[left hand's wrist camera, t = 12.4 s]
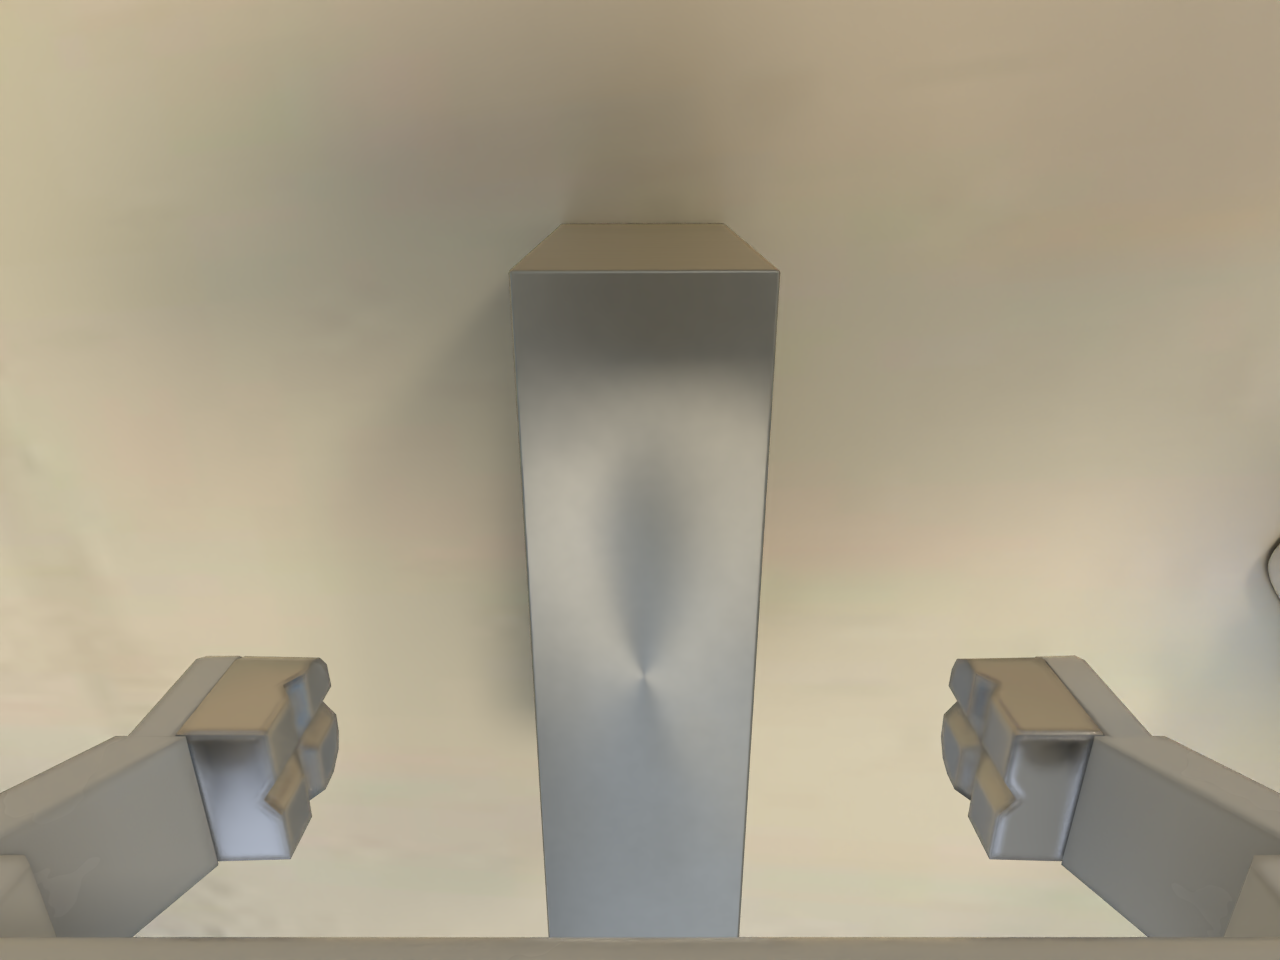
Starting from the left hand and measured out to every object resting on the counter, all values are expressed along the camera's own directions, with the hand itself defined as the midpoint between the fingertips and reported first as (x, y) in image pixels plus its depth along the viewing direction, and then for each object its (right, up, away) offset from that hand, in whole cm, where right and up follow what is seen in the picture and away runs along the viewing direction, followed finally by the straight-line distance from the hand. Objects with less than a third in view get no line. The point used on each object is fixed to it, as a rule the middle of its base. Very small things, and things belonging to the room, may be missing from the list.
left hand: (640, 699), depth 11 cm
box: (0, +2, +23) cm, 23 cm away
